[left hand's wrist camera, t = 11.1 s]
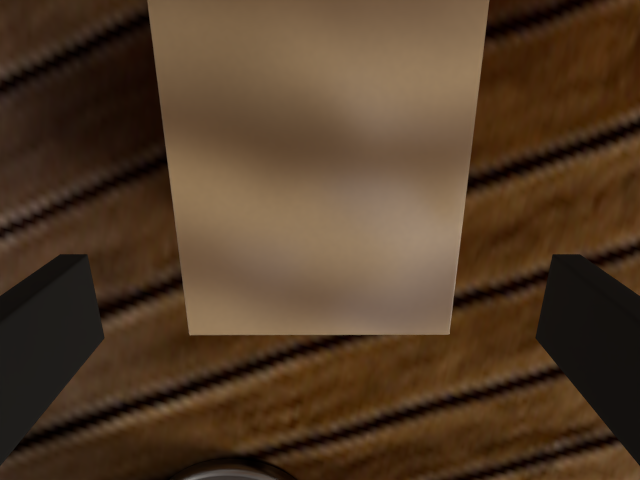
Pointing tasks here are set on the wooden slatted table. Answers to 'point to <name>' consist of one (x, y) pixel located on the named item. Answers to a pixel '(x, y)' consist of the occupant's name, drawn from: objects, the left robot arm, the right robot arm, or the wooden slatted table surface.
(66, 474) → the wooden slatted table surface
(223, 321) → the cabinet
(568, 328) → the left robot arm
